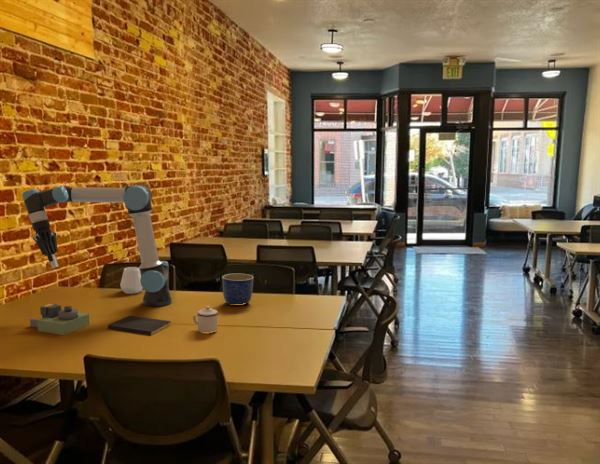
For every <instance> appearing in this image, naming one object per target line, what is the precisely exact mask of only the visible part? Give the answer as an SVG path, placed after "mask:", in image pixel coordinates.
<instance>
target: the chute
mask: <svg viewBox="0 0 600 464" xmlns="http://www.w3.org/2000/svg"><path fill="white" fill-rule="evenodd" d="M39 309H40V316H41V319H42V318H45V317H48V318H55V317H58V312H59V311H60V310H62V305H61V304H57V303H48V304H46V305H42V306H40V308H39Z"/></svg>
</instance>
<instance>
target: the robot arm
mask: <svg viewBox="0 0 600 464" xmlns="http://www.w3.org/2000/svg"><path fill="white" fill-rule="evenodd" d="M152 193H153V192H152V191H151V189H150V188H149V187H148V186H146V185H144V184H135V185H124V187H89V186H88V187H81V186H80V187H79V186H76V187H74V186H73V187H71V186H69V187H68V186H63V185H61V186H60V185H59V186H56V187H53V188H49V189H46V190H43V191H39V189H38V188H32V189H29V190H25V191H24V192H22V195H21V196H22V200H23V204H24V206H25V209H26V211H27V215H28V218H29V219H30V222H31V226H32V229H33V231H34V232H35V236H32V240H33V241H34V243H36V246H37V247H38V248H39V250H40V252H41V254H42V255H43V256H44V257H47V260H48V261H49V263H50V266H51V268H52V269H55V268H58V267H59V264H58V258H57V255H56V254H57V253H58V243H57V233H56V232H52V230H51V229H50V228H51V224H50V221H49V218H48V215H47V212H46V209H45V207H49V206H52V205H56V204H60V203H123V204H124V205H125V206H126V209H127V212H128V213H127V214H128V215H129V216H130V217H131V218H132V223H133V228H134V233H135V236H136V241H137V247H138V251H139V252H138V253H139V257H140V261H141V264H140V265H139V267H138V268H139V269H140V274H141V278H140V283H141V286H142V288H143V289H142V290H144V291H145V292H144V295H143V298H142V304H143V305H144V306H147V307H165V306H168V305H170V304H171V303H172V302H173V297H172V295H171V292H170V289H169V267H170V266H169V262H168V261H167V260H160V259H159V255H158V248H157V244H156V238H155V234H154V228H153V223H152V218H151V213H152V212H153V207H152V206H153V205H152V199H153V194H152ZM164 305H165V306H164Z"/></svg>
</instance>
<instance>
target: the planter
mask: <svg viewBox="0 0 600 464" xmlns="http://www.w3.org/2000/svg"><path fill="white" fill-rule="evenodd" d="M221 279H222V280H221V281H222V294H223V295H222V296H223V299H224V301H225V302H226V303H227V304H228V303H229V304H243V303H247V302H248V303H250V301H251V300H252V297H253V290H254V289H253V288H254V275H252V274H248V273H247V274H246V273H228V274H224V275H222V277H221ZM248 303H247V304H248ZM229 304H228V305H229Z"/></svg>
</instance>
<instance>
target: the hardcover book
mask: <svg viewBox="0 0 600 464" xmlns="http://www.w3.org/2000/svg"><path fill="white" fill-rule="evenodd" d="M171 322H172V321H171V320H165V319H164V320H163V319H157V318H152V317H144V316H138V315H137V316H136V315H130V314H129V315H128V316H126V317H123V318H121V319H118V320H117V321H114V322H112V323H110V324H108V325H107V330H113V331H118V332H119V331H121V332H127V333H132V334H138V333H139V335H145V334H149V335H148V336H152V335H154V334H156V333H157V332H156V331H158V330H160V329H161V328H163V327H165V326H166V325H168V324H170V325H171ZM165 328H166V327H165ZM160 331H161V330H160ZM155 332H156V333H155ZM158 332H159V331H158ZM153 333H154V334H153ZM151 334H152V335H151Z"/></svg>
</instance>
